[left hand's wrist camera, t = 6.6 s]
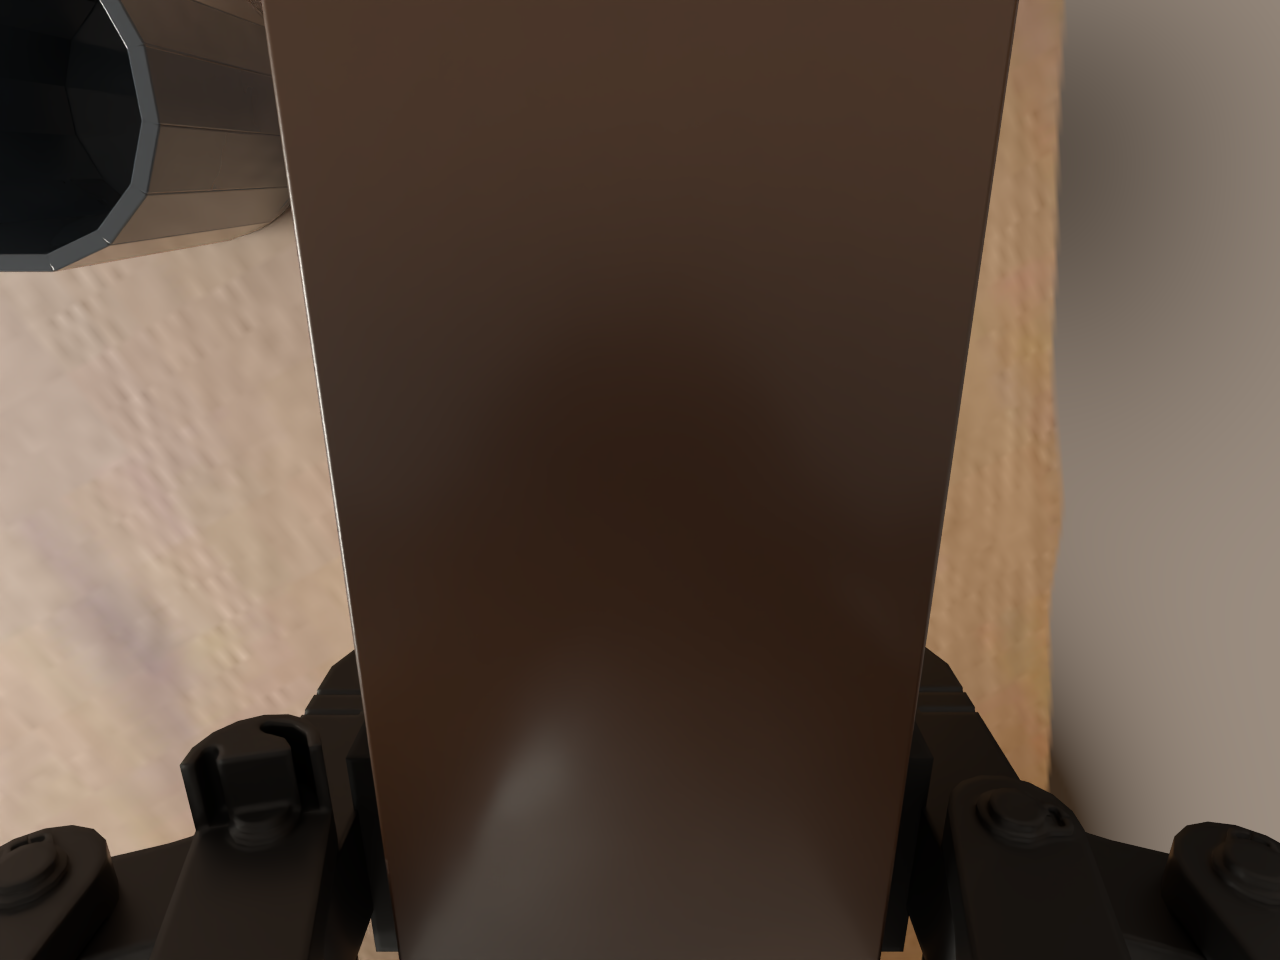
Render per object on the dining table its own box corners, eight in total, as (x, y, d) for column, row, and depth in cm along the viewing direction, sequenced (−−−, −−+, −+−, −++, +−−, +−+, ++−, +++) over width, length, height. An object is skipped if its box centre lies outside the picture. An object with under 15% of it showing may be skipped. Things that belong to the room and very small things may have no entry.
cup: (331, 239, 27) (188, 272, 18) (99, 239, 27) (-148, 272, 18) (295, -29, 24) (110, -135, 16) (38, -29, 24) (-287, -134, 16)
